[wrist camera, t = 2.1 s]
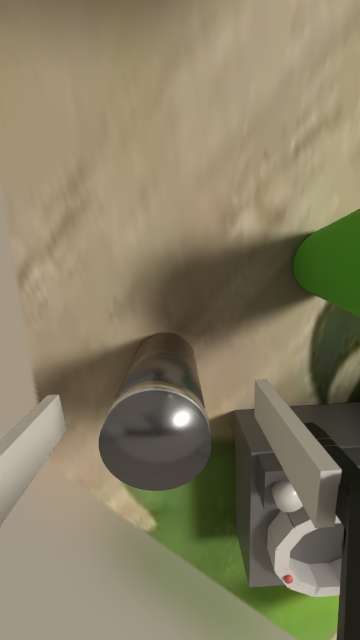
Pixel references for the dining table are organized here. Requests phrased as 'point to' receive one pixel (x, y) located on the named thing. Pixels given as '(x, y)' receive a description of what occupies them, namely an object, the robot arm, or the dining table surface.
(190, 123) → the dining table surface
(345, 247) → the cup
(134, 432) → the lens
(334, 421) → the camera body
